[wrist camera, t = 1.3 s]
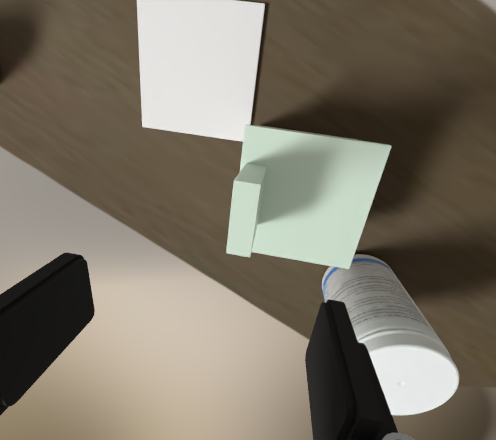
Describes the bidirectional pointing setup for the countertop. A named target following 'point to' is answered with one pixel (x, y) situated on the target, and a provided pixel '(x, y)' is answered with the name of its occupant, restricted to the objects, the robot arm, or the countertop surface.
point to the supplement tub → (393, 335)
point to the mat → (199, 65)
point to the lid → (303, 195)
